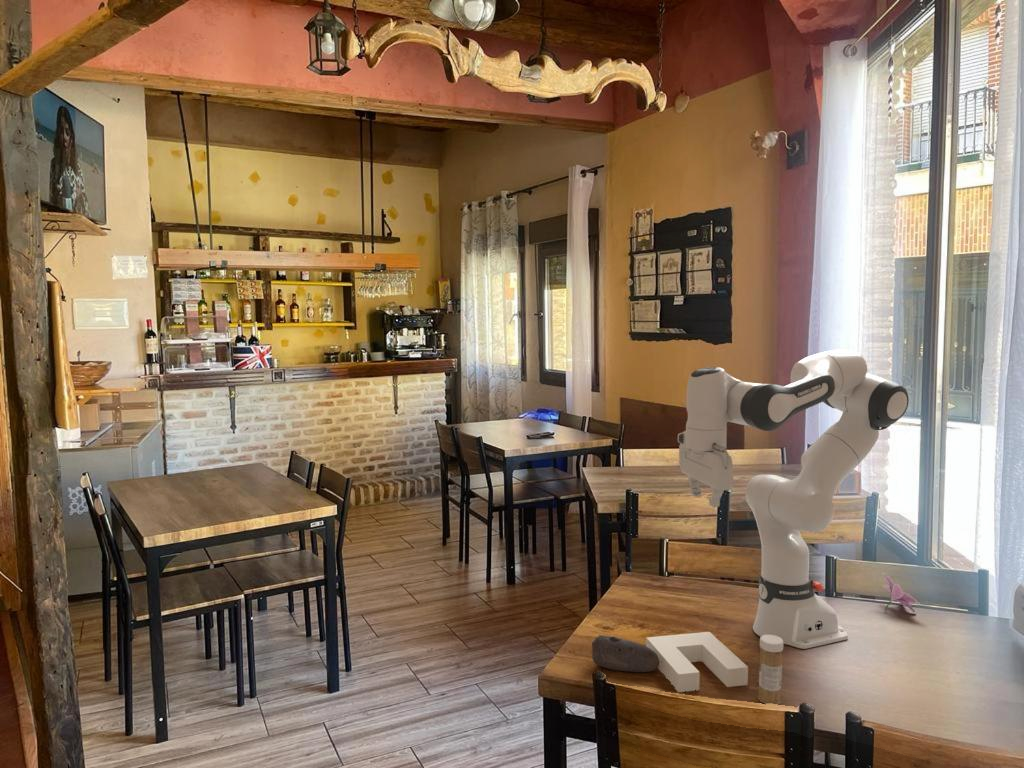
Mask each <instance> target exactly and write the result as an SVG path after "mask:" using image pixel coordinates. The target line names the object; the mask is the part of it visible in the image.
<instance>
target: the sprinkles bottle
mask: <svg viewBox="0 0 1024 768" xmlns="http://www.w3.org/2000/svg"><path fill="white" fill-rule="evenodd" d="M759 637H760V636H759ZM759 650H760V652H759V653H760V654H759V671H758V672H759V673H758V697H757V698H758V701H759V702H760V703H761V702H763V703H773V704H779V705H781V703H782V699H781V695H782V694H781V691H782V679H783V652H784V651H783V650H784V644H783V640H782V639H781V638H780V637H778V636H775V635H763V636H761V637H760V638H759ZM763 703H762V704H763Z"/></svg>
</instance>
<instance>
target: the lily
mask: <svg viewBox="0 0 1024 768" xmlns="http://www.w3.org/2000/svg"><path fill="white" fill-rule="evenodd" d="M881 574H882V575H883V577H884V579H886V582H887V584H888V585H887V584H883V585H882V586H881V587H883V588H884V589H886V590H887V591H888V592H889V593H890V597H891V599H890V601H889V602H888V603H887V605H886V606H885V608H884V610H883V612H884V611H885V612H886V611H887V609H888V607H889V606H890V604H891V603H892V602H893V601H894V602H898V603H899V604H900V605H901V606H902V605H903V606H906V607H907V608H909V610H910V611H912V613H914V612H915V613H916V610H915V609H914V608H913V606H912V605H920V602H918V601H917V599H916V598H914V597H913V596H912V595H911V594H909V593H907V592H905V591H904V590H903V588H902V587H901V585H900V584H899V583H895V582H894V581H893V580H892V579H891V578H890V576H888V575H887V574H886V573H884V572H883V571H881ZM915 613H914V614H915ZM916 614H917V613H916Z"/></svg>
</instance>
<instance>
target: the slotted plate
mask: <svg viewBox="0 0 1024 768" xmlns="http://www.w3.org/2000/svg"><path fill="white" fill-rule="evenodd" d="M645 639H646V640H645V646H646V647H648V648H650V649H651V650H653V651H654V652H655V653H656V654H657V656H658V658H659V662H660V663H659V666H658V668H657V669H658V671H659V672H661V674H662V673H663V674H664V675H665V676H666V677H665V676H664V675H663V674H662V675H663V676H664V677H665V678H666V680H667V679H668V680H669V681H670V682H671V683H670V682H669V681H668V680H667V681H668V682H669V683H670V685H671V686H672V685H673V686H674V687H675V688H674V687H673V686H672V687H673V688H674V689H675V691H677V693H684V692H685V691H686V692H696V691H700V671H699V670H698V669H697V668H696V667H695V665H693V663H696V662H702V663H703V664H704V665H705V666H706V667H707V668H708V669H709V670H710V671H711V672H712V673H713V674H714V675H715V677H716V678H718V679H719V680H720V681H721V682H722V683H723V684H724V685H725V686H726V687H727V688H732V687H733V688H734V687H740V686H749V685H748V684H749V682H748V681H749V679H748V678H749V666H748V665H746V664H745V663H744V662H743V661H742V660H741V659H740V658H739V657H738V656H737V655H736V654H734V653H733V651H731V650H730V649H729V648H728V647H727V646H726V645H724V643H722V642H721V641H720V640H719V639H718V638H717V637H716V636H715V635H714V634H712V632H710V631H702V632H692V633H691V632H690V633H680V634H669V635H658V636H657V635H656V636H648V637H646V638H645ZM695 690H696V691H695Z"/></svg>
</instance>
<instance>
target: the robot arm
mask: <svg viewBox="0 0 1024 768" xmlns="http://www.w3.org/2000/svg"><path fill="white" fill-rule="evenodd" d="M789 380H790V383H789V384H787V385H780V384H776V383H775V384H773V383H758V382H751V381H742V380H740V379H738V378H735V377H734V376H732V375H731V374H729V373H728V372H726V371H725V369H724V368H722V367H719V366H710V367H702V368H697V369H695V370H694V371H693V372H691V374H690V375H689V377H688V380H687V381H688V382H687V387H686V401H685V402H686V404H685V405H686V407H685V408H686V412H687V420H686V423H685V430H684V431H682V432H680V433H678V434H677V443H679V446H678V447H679V448H678V460H679V461H678V463H679V468H680V472H681V473H683V474H684V475H687V477H688V482H689V486H690V495H691V496H693V497H694V498H696V497H699V498H700V496H701V494H702V493H701V492H702V490H701V488H700V483H699V482H701V483H702V484H704V485H706V486H709V487H710V491H711V496H710V497H709V498H708V500H709V501H708V503H709V506H711V507H712V508H719V507H720V505H721V504H720V503H721V502H720V501H721V498H722V497H723V496H722V495H723V492H724V491H731V490H732V488H733V486H734V466H733V459H732V457H731V455H730V454H729V453H728V451H727V431H728V427H727V423H728V422H729V423H733V424H738V425H741V426H742V425H743V426H747V427H752V428H755V429H757V430H761V431H765V432H772V431H775V430H777V429H779V428H780V427H782V426H783V425H784V424H785V423H786V422H788V420H790V419H791V418H792V417H793V416H794V415H796V414H798V413H800V412H803V411H805V410H807V409H809V408H812V407H814V406H816V405H818V404H820V403H824V404H825V405H827V406H828V407H830V408H832V409H835V410H836V409H837V410H839V411H840V412H842V414H841V416H840V418H839V420H838V421H836V422H835V423H834V424H833V425H831V426H830V427H829V428H827V429H826V430H825V431H824V432H823V434H821V435H820V436H819V437H818V438H817V439H816V440H815V441H814V442H813V443H812V444H811V445H810V446H809V447H808V448H807V449H806V450H805V451H804V452H803V453H802V454H801V457H800V465H801V470H800V472H799V474H798V475H797V476H796V477H795V478H793V479H789V478H786V477H782V476H779V475H777V474H758V475H755V476H754V477H752V478H751V479H750V480H749V482H748V483H747V484H746V487H745V489H744V490H745V491H744V495H745V496H744V497H745V500H746V503H747V505H748V506H749V507H750V509H751V511H752V513H753V515H754V519H755V522H756V526H757V530H758V534H759V538H760V543H761V545H760V546H761V573H760V574H759V581H758V595H759V596H758V597H759V599H758V605H757V606H758V607H757V612H756V615H755V616H756V617H755V618H754V623H753V625H752V630H753V632H754V633H755V634H756V635H757V636H759V637H761V636H763V635H775V636H778V637H780V638H781V639H782V640H783V645H786V646H787V645H788V646H792V647H795V648H797V649H804V650H807V649H810V648H814V647H819V646H823V645H824V646H825V645H828V644H832V643H836V642H841V641H845V640H848V639H849V636H848V632H847V631H846V629H845V628H843V626H841V625H840V624H839V622H838V616H837V613H836V611H835V609H834V608H833V607H832V606H831V605H829V604H828V603H827V602H826V601H825V600H823V599H822V598H821V597H820V596H818V595H817V594H816V593H815V591H817V592H819V593H821V592H822V591H823V590H824V585H823V584H822V583H819V581H813V579H811V578H810V577H809V575H810V573H809V572H810V571H809V570H810V549H809V547H808V544H807V543H806V541H805V540H804V539H803V536H802V535H801V532H807V533H819V532H823V531H824V530H826V529H827V528H828V527H829V526H830V524H831V523H832V521H833V519H834V514H835V506H834V503H833V498H834V496H835V494H836V491H837V490H838V488H839V486H840V485H841V483H842V482H843V481H845V480H846V478H847V477H848V476H849V475H850V474H851V473H852V472H853V471H854V470H855V469H856V468H857V467H858V465H860V463H862V461H864V460H865V458H866V457H867V455H868V454H869V453H870V452H871V451H872V448H874V446H875V444H876V443H877V441H878V440H879V436H880V434H879V432H880V431H883V430H885V429H888V428H889V427H890V426H891V425H893V424H895V423H896V422H897V421H899V420H900V419H901V418H902V417H903V416H904V415H905V413H906V411H907V409H908V407H909V393H908V390H907V389H906V388H905V387H904V386H902V385H901V384H899V383H898V382H896V381H894V380H893V379H892V380H891V379H886V378H884V377H881V376H878V375H875V374H872V373H869V372H868V364H867V361H866V359H865V358H864V357H863V355H862V354H861V353H860V352H858V351H856V350H853V349H850V348H849V349H848V348H845V349H844V348H841V349H832V350H827V351H823V352H822V351H821V352H818V353H815V354H812V355H808V356H806V357H804V358H802V359H800V360H799V361H797V362H795V363H794V365H793V367H792V369H791V372H790V379H789Z"/></svg>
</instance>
